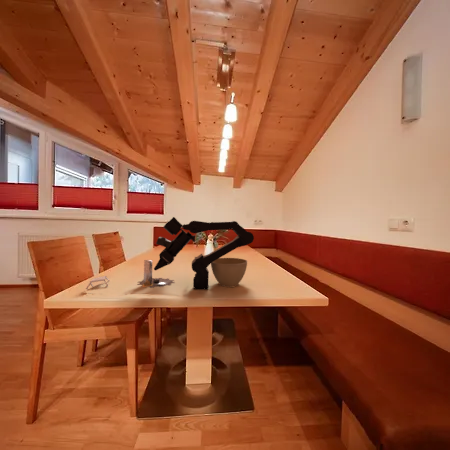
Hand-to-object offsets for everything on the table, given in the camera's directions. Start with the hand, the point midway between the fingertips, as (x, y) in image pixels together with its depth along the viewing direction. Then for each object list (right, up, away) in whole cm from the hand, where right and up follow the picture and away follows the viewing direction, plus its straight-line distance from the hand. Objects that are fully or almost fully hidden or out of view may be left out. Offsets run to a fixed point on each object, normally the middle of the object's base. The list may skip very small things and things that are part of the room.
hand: (156, 267), depth 109 cm
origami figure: (-24, -9, -3) cm, 25 cm away
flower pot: (+33, -11, +11) cm, 36 cm away
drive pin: (-4, -8, 0) cm, 8 cm away
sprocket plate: (-1, -9, +5) cm, 10 cm away
